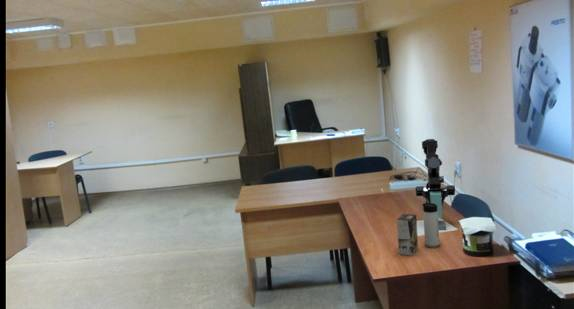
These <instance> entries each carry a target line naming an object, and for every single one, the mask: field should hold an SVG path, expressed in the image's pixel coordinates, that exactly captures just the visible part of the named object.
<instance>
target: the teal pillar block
mask: <svg viewBox="0 0 574 309" xmlns="http://www.w3.org/2000/svg"><path fill="white" fill-rule="evenodd" d="M441 200H442V198H441V191H438V192H430V201H431V203H433V204H435V205H437V209H438V218H441V219H443V206H442V201H441Z"/></svg>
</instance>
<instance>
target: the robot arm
mask: <svg viewBox="0 0 574 309" xmlns="http://www.w3.org/2000/svg"><path fill="white" fill-rule="evenodd" d="M421 149H422V150H423V154H424V155H425V159H424V166H425V167H426V169H427V179H428V181H427V183H426V185H425V187H424V186H423V185H422V186H421V185H420V186H416V187H415V196H416V197H422V198H425V200H426V201H425V203H431V201H430V192H438V191H441V201H442V207H443V205H444V202H445V200H446V197H449V196H455V195H456V194H455V193H456V186H455V185H452V184H451V185H445V187H444V188H443V187H442V183H445V178H444V175H440V168H441V167H442V165H443V161H442V160H441V158H440V157H439V155H438V154H437V149H439V146H438V140H435V139H434V138H428V139H427V138H426V139H425V140H423V141H421Z"/></svg>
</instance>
